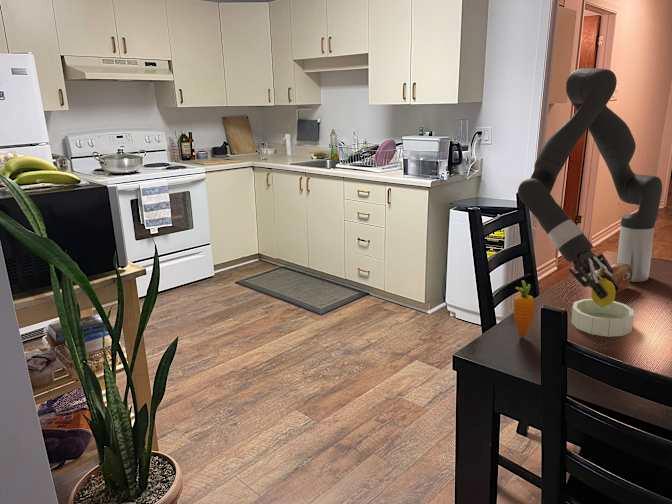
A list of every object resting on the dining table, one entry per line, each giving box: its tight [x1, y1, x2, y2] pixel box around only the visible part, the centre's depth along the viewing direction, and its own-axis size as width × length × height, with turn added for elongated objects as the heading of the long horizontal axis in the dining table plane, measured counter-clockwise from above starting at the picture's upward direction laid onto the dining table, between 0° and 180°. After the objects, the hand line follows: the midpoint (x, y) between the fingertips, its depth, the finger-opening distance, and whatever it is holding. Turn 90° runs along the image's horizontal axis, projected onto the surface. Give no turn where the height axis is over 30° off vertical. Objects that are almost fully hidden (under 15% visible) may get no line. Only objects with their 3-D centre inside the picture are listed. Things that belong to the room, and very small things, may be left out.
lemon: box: [590, 278, 616, 308], centre depth 131 cm, size 6×6×8 cm
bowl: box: [570, 298, 635, 338], centre depth 133 cm, size 14×14×4 cm
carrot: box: [513, 280, 536, 339], centre depth 126 cm, size 5×5×15 cm
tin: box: [596, 262, 632, 293], centre depth 154 cm, size 15×3×8 cm, turn 117°
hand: (610, 294), depth 130 cm, fingers closed on lemon, 5 cm apart
